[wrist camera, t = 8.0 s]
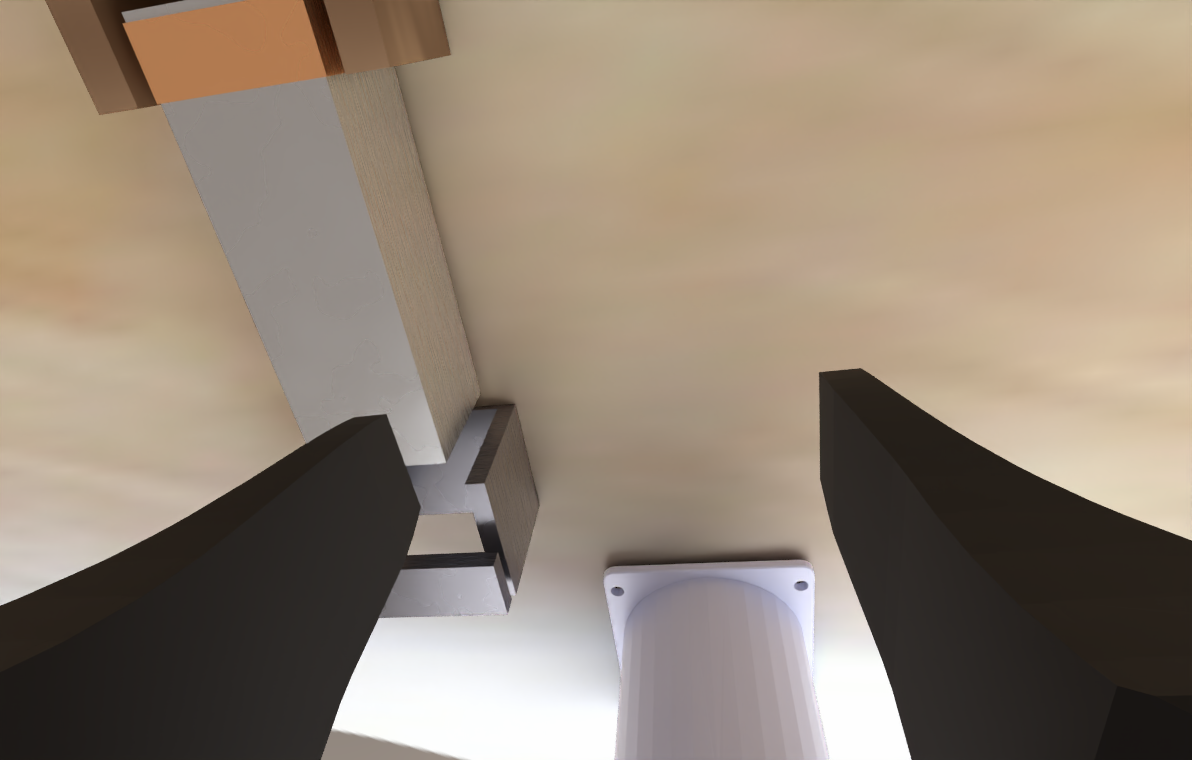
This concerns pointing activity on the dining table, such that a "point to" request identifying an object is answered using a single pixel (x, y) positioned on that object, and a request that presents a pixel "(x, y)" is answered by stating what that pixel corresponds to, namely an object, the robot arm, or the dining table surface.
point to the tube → (316, 213)
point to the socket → (95, 3)
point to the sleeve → (501, 510)
